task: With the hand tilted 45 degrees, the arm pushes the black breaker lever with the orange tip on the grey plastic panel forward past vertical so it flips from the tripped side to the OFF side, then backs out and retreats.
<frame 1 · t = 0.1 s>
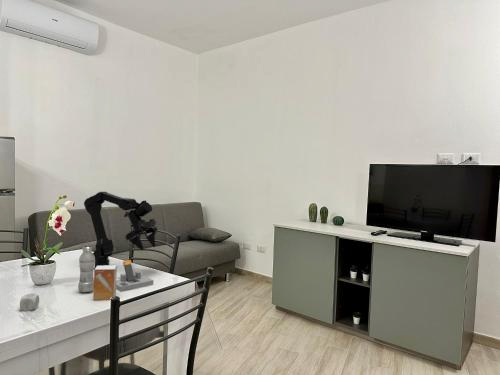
hand: (148, 248, 176), 15 cm above the table, tool tilted 30°, fingers open, 9 cm apart
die: (29, 309, 131), on the table
breaker lever: (128, 270, 165), point 6 cm above the table, hinge at -30.0°
plastic bottle: (86, 292, 152), on the table
small box: (104, 298, 146), on the table
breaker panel: (130, 284, 164), on the table
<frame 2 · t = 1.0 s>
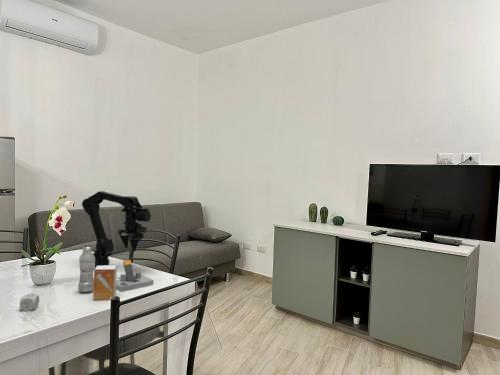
hand: (130, 249, 183), 12 cm above the table, tool pointing down, fingers open, 9 cm apart
nothing on the table moved.
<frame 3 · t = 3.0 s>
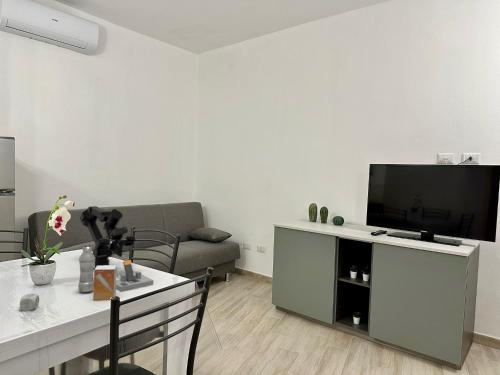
hand: (120, 256, 172), 11 cm above the table, tool tilted 45°, fingers closed
nothing on the table moved.
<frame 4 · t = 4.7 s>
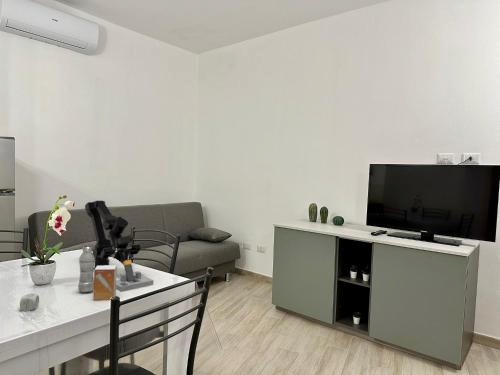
hand: (126, 265, 167), 8 cm above the table, tool tilted 45°, fingers closed, pressing on breaker lever
breaker lever: (128, 270, 165), point 6 cm above the table, hinge at -28.7°, touching gripper
everything else where it was.
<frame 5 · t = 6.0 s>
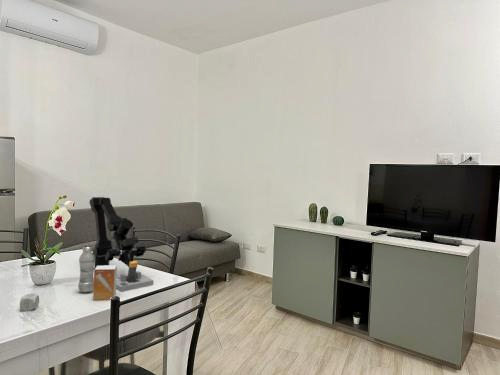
hand: (131, 267, 163), 8 cm above the table, tool tilted 45°, fingers closed, pressing on breaker lever
breaker lever: (132, 271, 163), point 6 cm above the table, hinge at 15.0°, touching gripper
everything else where it was.
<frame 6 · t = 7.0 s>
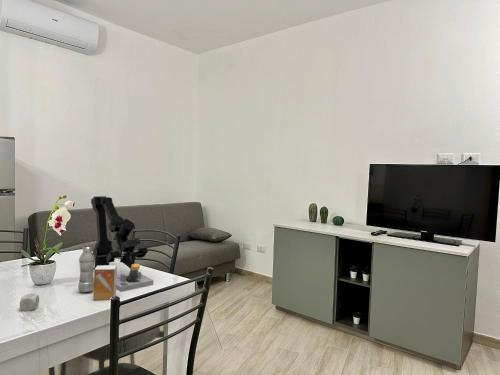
hand: (133, 269, 162), 8 cm above the table, tool tilted 45°, fingers closed, pressing on breaker lever
breaker lever: (133, 273, 162), point 6 cm above the table, hinge at 30.5°, touching gripper
everything else where it was.
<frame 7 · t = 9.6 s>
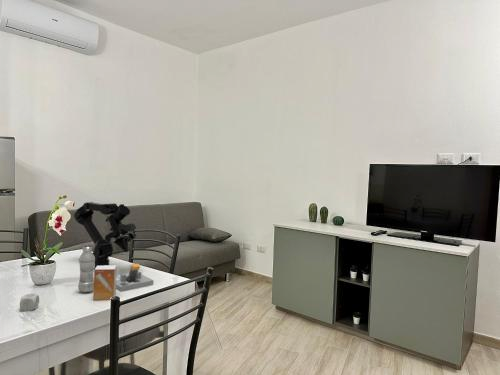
hand: (126, 251, 176), 12 cm above the table, tool tilted 35°, fingers closed
breaker lever: (133, 273, 162), point 6 cm above the table, hinge at 30.6°
everything else where it was.
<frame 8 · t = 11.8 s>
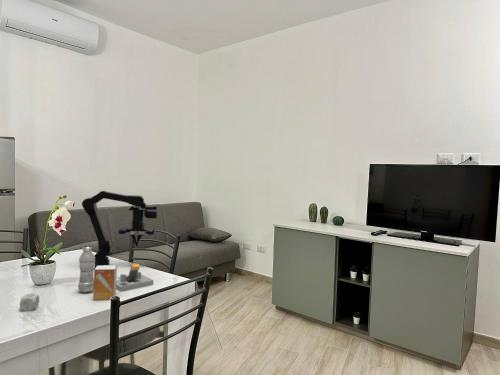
hand: (137, 246, 192), 12 cm above the table, tool pointing down, fingers closed
nothing on the table moved.
at the end: breaker lever at +31° (first picture: -30°) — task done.
